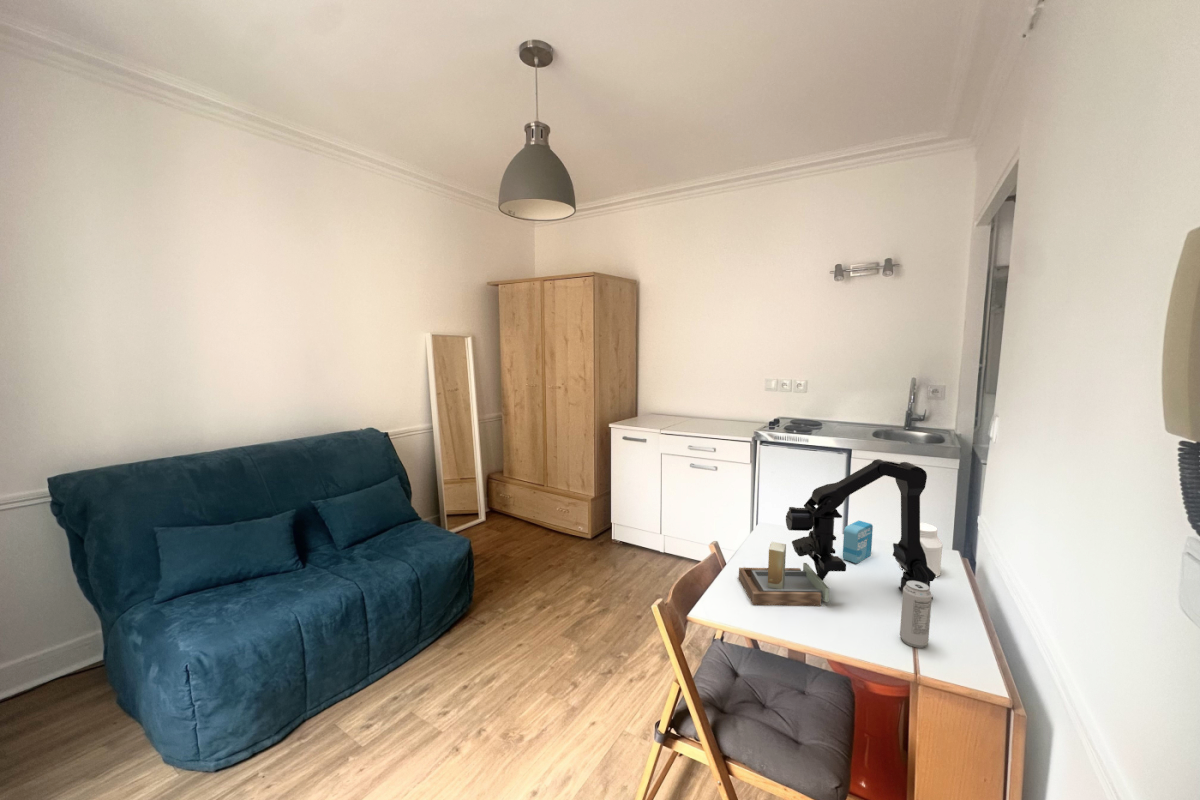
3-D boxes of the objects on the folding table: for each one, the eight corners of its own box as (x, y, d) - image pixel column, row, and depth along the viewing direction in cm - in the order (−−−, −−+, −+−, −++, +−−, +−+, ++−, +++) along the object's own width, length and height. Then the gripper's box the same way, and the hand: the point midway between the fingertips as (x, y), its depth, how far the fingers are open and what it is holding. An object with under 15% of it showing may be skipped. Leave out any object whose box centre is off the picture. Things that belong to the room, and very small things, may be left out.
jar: (945, 572, 159) (948, 528, 157) (933, 580, 153) (936, 535, 152) (906, 560, 168) (909, 518, 166) (893, 567, 163) (896, 524, 161)
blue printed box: (855, 564, 165) (857, 531, 163) (842, 560, 168) (843, 527, 167) (871, 555, 172) (873, 523, 171) (858, 551, 176) (860, 519, 174)
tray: (806, 574, 155) (806, 562, 155) (828, 601, 139) (829, 588, 138) (749, 574, 156) (749, 562, 155) (765, 600, 139) (765, 587, 139)
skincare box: (770, 578, 151) (771, 540, 150) (785, 581, 149) (786, 543, 148) (766, 587, 145) (768, 548, 144) (782, 591, 143) (783, 551, 142)
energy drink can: (917, 634, 125) (921, 579, 123) (933, 648, 119) (938, 590, 117) (894, 635, 125) (898, 579, 123) (910, 649, 119) (914, 591, 117)
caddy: (799, 578, 155) (799, 568, 155) (820, 605, 139) (821, 594, 139) (738, 578, 156) (739, 567, 155) (753, 605, 139) (753, 593, 139)
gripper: (784, 519, 154) (782, 566, 156) (808, 542, 136) (805, 595, 138) (820, 519, 154) (817, 566, 156) (848, 543, 135) (845, 596, 137)
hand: (820, 580), depth 147 cm, fingers closed, pressing on tray
